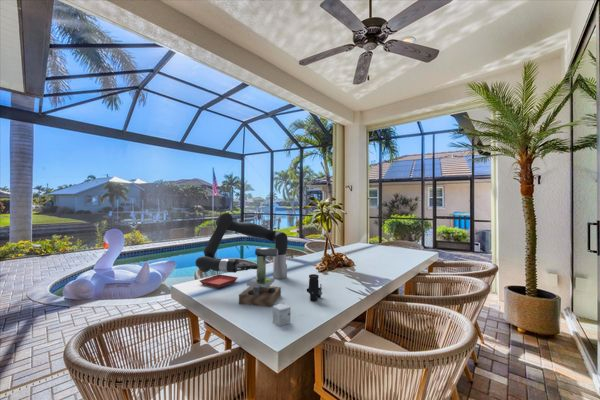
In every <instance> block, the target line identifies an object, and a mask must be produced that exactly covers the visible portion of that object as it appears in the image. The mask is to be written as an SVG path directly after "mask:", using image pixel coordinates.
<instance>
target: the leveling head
mask: <svg viewBox="0 0 600 400" xmlns="http://www.w3.org/2000/svg"><path fill="white" fill-rule="evenodd" d="M254 254H255V256H256V265H257V269H256V276H254V277H253V278H251V279H249V281H247V282H246V287H247V286H248V287H250V286H254V287H259V288H261V287H265V288H268V287H269V286H271V285H272V284H273V283H274V282H275V280H276V279H275V278H273V277H266V274H267V272H266V271H267V257H273V256H274V257H277V256H278V249H276V248H274V247H273V248H272V247H255V251H254Z"/></svg>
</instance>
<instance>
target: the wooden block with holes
mask: <svg viewBox="0 0 600 400" xmlns="http://www.w3.org/2000/svg"><path fill="white" fill-rule="evenodd" d="M281 293H282V287H281V286H274V285H273V286H271V285H270V286H269V287H268V288H265V287H261V288H259V287H254V286H248V287H247V288H246V289H244V290H243V291H242V292H240V293H239V294H238V305H245V306H253V307H255V306H256V307H263V308H264V307H265V308H273V306H274V304H275V303H276V302H277V301H278V300H279V298H280V297H281V295H282V294H281Z"/></svg>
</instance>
